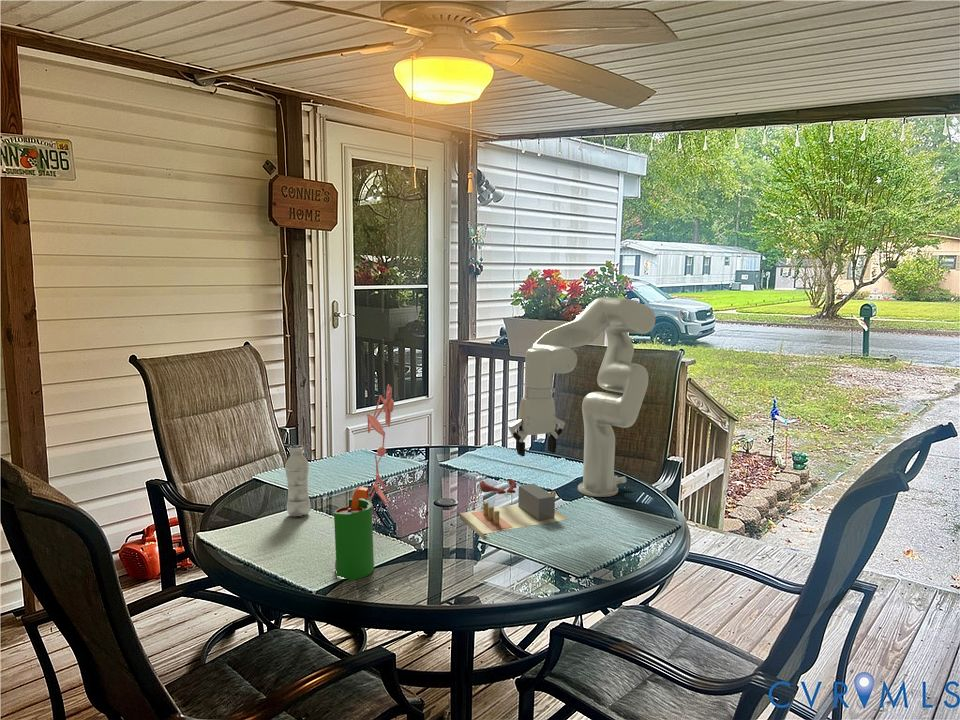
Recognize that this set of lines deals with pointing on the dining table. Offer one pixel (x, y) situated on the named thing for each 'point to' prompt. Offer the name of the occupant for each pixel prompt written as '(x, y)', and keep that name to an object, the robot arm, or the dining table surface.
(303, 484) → the plastic bottle
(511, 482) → the pliers
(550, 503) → the block
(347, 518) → the green cylindrical container
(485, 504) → the board
